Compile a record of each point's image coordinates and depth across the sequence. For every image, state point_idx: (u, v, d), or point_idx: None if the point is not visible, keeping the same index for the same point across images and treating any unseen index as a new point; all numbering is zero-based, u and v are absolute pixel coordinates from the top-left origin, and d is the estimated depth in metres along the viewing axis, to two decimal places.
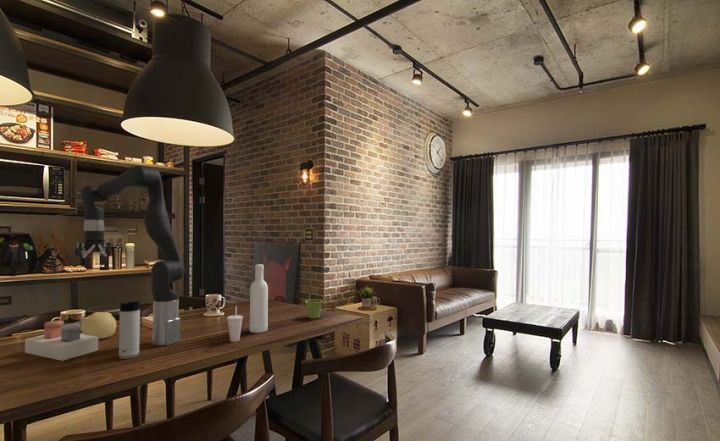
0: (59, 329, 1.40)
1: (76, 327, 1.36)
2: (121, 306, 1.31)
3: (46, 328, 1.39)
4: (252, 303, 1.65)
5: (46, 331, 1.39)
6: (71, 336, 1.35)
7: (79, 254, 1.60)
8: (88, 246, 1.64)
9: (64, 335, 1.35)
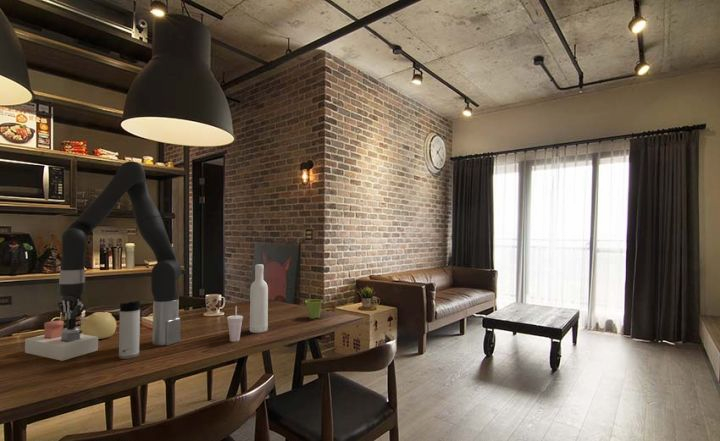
0: (59, 329, 1.40)
1: (76, 331, 1.36)
2: (121, 306, 1.31)
3: (46, 328, 1.39)
4: (252, 303, 1.65)
5: (46, 331, 1.39)
6: (71, 339, 1.35)
7: None
8: None
9: (64, 339, 1.34)
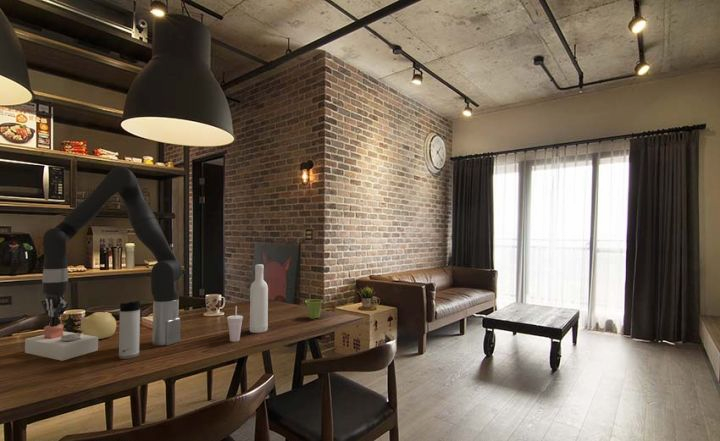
0: (59, 333, 1.40)
1: (76, 338, 1.36)
2: (121, 306, 1.31)
3: (46, 332, 1.39)
4: (252, 303, 1.65)
5: (46, 335, 1.38)
6: None
7: None
8: None
9: None
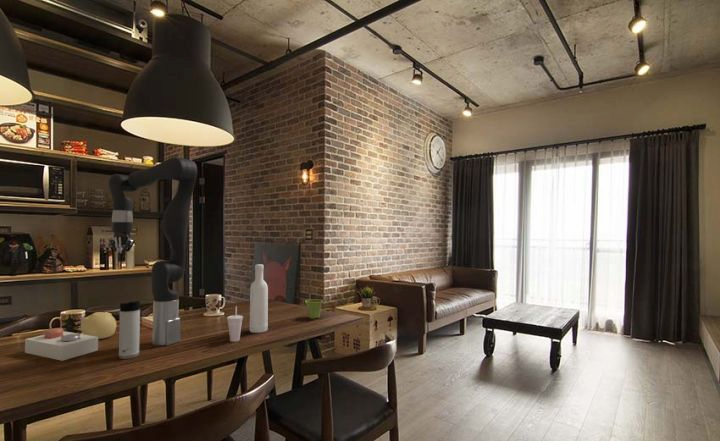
0: None
1: (76, 338, 1.36)
2: (121, 306, 1.31)
3: (46, 336, 1.38)
4: (252, 303, 1.65)
5: None
6: None
7: None
8: None
9: None
